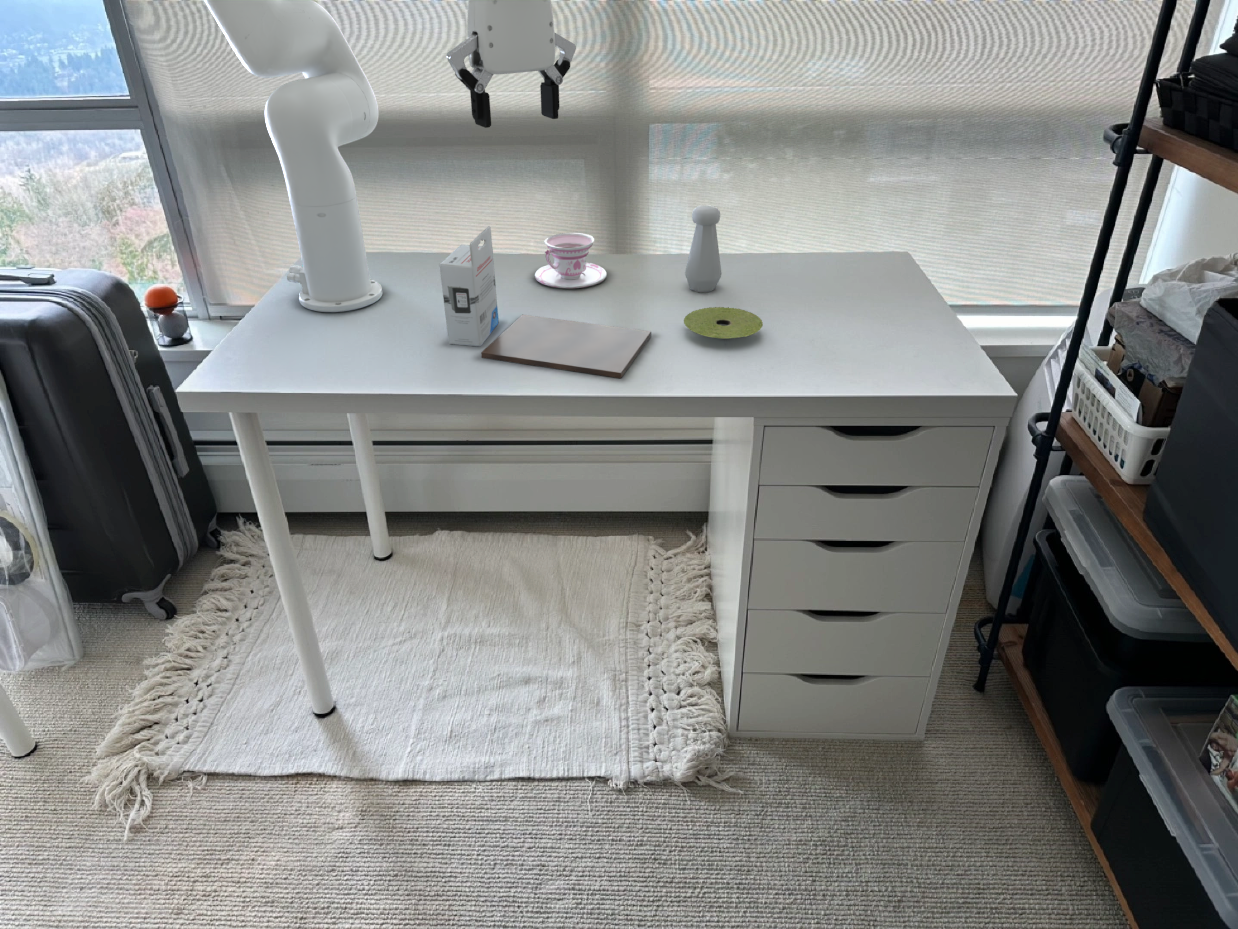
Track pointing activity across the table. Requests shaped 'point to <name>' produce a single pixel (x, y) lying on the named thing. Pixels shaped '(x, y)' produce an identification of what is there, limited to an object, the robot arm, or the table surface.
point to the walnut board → (568, 345)
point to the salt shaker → (704, 250)
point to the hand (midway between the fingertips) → (517, 121)
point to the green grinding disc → (723, 322)
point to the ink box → (470, 292)
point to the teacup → (569, 262)
